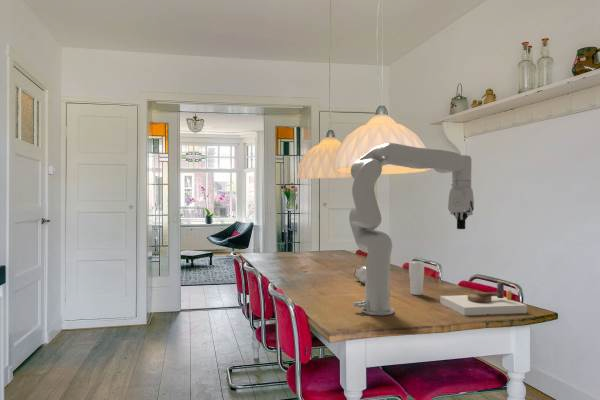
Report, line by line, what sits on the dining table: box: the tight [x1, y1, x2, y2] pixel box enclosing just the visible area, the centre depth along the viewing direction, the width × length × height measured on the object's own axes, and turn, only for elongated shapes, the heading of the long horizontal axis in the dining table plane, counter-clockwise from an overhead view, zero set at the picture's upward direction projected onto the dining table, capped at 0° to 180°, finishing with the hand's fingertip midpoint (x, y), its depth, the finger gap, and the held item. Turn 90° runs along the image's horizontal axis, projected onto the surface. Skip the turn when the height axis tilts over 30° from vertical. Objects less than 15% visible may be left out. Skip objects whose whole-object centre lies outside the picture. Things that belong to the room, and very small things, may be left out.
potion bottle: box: [353, 265, 365, 285], centre depth 234 cm, size 9×10×15 cm
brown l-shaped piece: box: [467, 281, 505, 302], centre depth 182 cm, size 15×9×7 cm, turn 97°
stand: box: [439, 290, 528, 316], centre depth 182 cm, size 26×20×6 cm
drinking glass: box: [408, 260, 425, 296], centre depth 207 cm, size 7×7×15 cm
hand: (461, 228), depth 186 cm, fingers closed
